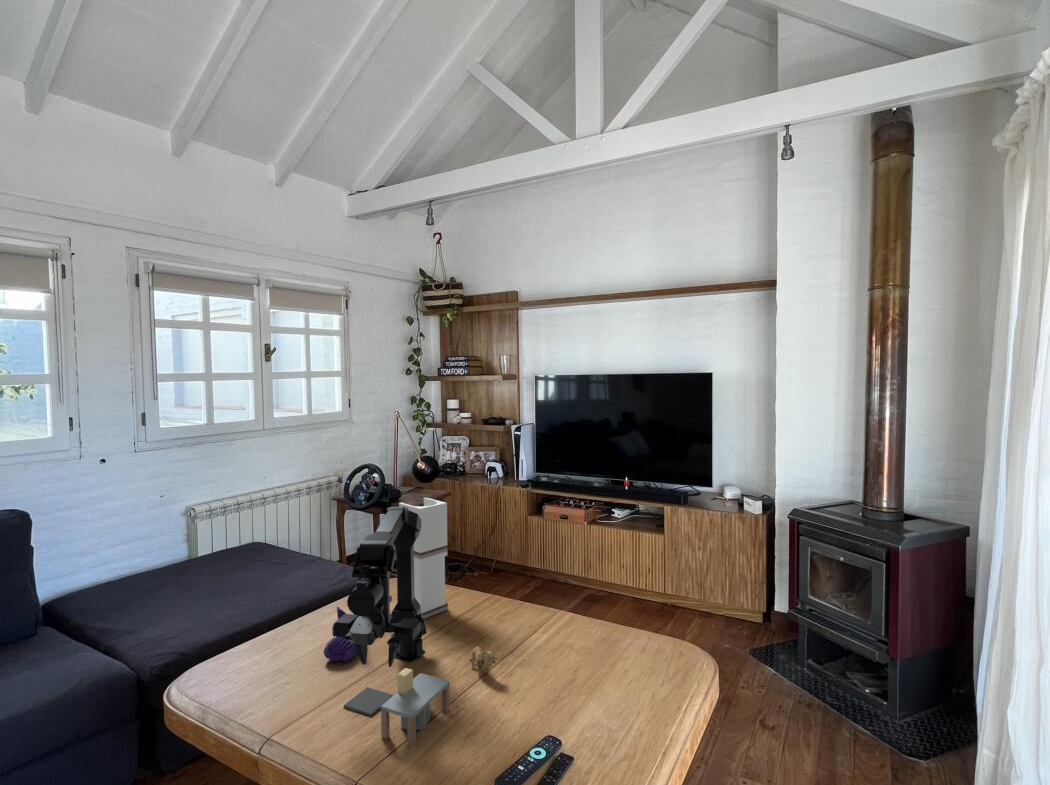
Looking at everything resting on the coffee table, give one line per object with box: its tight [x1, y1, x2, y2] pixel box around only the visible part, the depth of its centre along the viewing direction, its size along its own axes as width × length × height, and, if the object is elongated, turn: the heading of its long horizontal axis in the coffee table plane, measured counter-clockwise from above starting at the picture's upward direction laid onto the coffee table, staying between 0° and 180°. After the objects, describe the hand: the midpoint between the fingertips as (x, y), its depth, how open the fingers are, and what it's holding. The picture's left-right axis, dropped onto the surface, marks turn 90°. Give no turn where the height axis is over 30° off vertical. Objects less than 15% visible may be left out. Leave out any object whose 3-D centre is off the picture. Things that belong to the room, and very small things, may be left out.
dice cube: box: [400, 702, 431, 731], centre depth 122 cm, size 5×5×5 cm
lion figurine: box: [469, 646, 498, 680], centre depth 142 cm, size 12×4×7 cm, turn 33°
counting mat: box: [343, 686, 395, 717], centre depth 129 cm, size 8×8×1 cm
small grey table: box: [380, 667, 451, 749], centre depth 121 cm, size 8×14×11 cm, turn 155°
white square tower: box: [398, 497, 449, 620], centre depth 179 cm, size 11×11×35 cm
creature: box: [323, 605, 358, 665], centre depth 152 cm, size 9×18×12 cm, turn 162°
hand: (377, 665), depth 123 cm, fingers open, 6 cm apart
